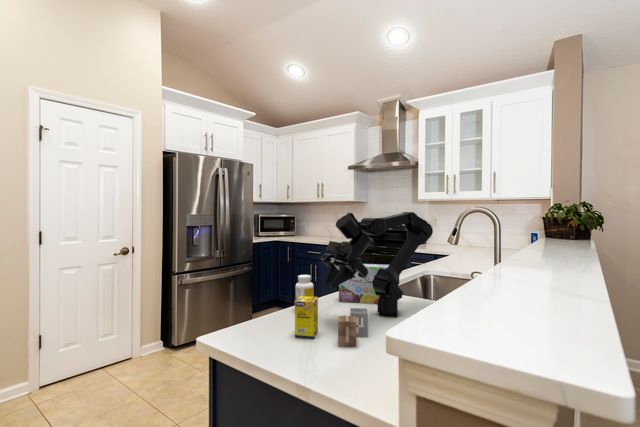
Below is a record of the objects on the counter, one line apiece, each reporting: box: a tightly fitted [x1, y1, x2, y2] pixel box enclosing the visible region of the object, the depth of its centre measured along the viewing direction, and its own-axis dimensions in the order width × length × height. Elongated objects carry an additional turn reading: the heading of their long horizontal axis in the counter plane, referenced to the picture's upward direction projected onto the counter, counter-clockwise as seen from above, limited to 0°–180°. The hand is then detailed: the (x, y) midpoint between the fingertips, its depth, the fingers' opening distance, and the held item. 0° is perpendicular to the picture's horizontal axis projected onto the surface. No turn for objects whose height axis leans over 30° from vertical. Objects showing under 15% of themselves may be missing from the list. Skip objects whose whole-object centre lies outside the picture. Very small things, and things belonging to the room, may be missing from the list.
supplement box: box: [294, 296, 319, 340], centre depth 104 cm, size 6×6×11 cm
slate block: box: [349, 307, 369, 338], centre depth 105 cm, size 5×5×7 cm
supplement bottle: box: [295, 274, 315, 301], centre depth 127 cm, size 7×7×13 cm
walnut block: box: [337, 315, 357, 348], centre depth 98 cm, size 5×5×7 cm
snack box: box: [338, 263, 390, 305], centre depth 138 cm, size 21×6×15 cm, turn 77°
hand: (328, 286), depth 108 cm, fingers open, 3 cm apart
